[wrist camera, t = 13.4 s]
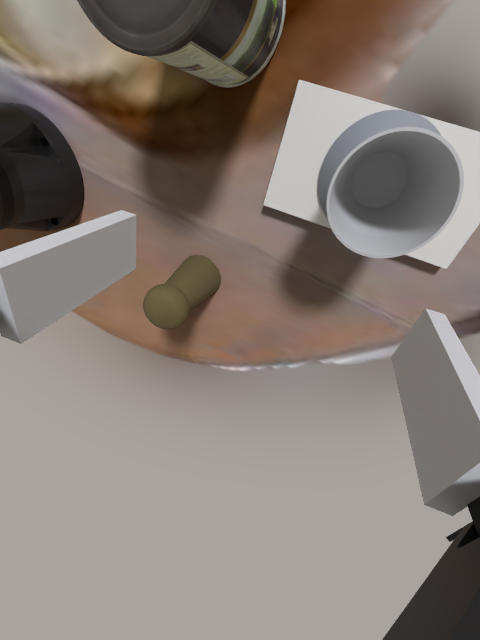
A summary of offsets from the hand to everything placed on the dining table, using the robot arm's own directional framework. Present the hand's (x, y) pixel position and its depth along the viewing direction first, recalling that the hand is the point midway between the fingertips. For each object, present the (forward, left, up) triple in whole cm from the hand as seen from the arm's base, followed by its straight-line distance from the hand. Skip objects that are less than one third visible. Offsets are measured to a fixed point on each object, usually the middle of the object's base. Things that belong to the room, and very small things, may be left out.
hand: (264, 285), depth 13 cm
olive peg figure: (-11, -14, -23) cm, 29 cm away
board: (+5, +4, -23) cm, 23 cm away
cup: (+5, +4, -21) cm, 22 cm away
